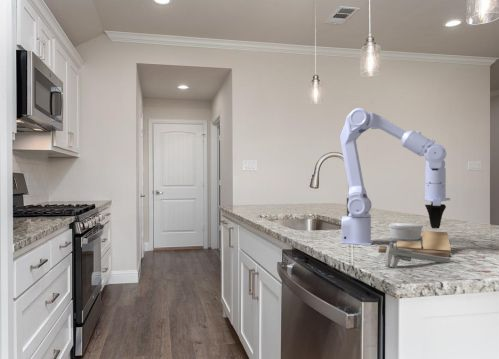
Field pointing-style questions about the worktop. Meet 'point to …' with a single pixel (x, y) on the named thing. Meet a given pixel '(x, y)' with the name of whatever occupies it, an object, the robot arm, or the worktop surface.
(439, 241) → the right plank
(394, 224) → the ramekin
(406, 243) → the left plank
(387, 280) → the worktop surface
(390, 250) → the caliper
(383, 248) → the floor panel
